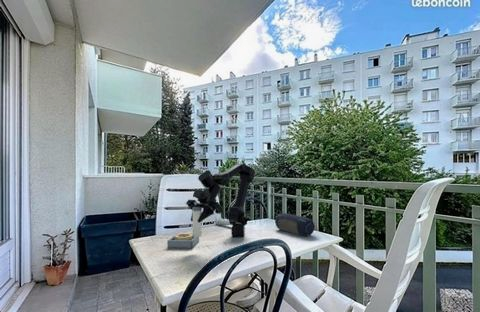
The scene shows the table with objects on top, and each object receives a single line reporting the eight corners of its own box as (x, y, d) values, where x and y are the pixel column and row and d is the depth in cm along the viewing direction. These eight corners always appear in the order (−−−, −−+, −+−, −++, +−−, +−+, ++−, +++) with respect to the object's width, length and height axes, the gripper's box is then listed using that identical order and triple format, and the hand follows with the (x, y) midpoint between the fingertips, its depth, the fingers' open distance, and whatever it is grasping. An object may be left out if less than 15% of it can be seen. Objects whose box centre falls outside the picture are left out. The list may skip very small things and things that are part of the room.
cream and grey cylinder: (203, 234, 118) (202, 207, 119) (200, 236, 114) (200, 208, 115) (194, 234, 119) (193, 207, 120) (191, 236, 115) (191, 208, 115)
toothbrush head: (220, 218, 175) (246, 217, 157) (221, 228, 174) (247, 228, 156) (214, 219, 171) (239, 218, 153) (215, 229, 170) (241, 230, 152)
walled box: (199, 241, 132) (199, 232, 132) (192, 248, 120) (192, 238, 120) (176, 241, 133) (176, 232, 134) (167, 248, 121) (167, 238, 122)
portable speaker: (272, 229, 155) (272, 213, 156) (284, 227, 161) (284, 211, 161) (304, 239, 134) (303, 219, 135) (316, 236, 140) (316, 217, 140)
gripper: (188, 182, 126) (170, 208, 117) (218, 183, 116) (201, 212, 106) (200, 197, 132) (184, 223, 123) (229, 199, 122) (213, 227, 112)
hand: (194, 221), depth 116 cm, fingers closed on cream and grey cylinder, 4 cm apart
